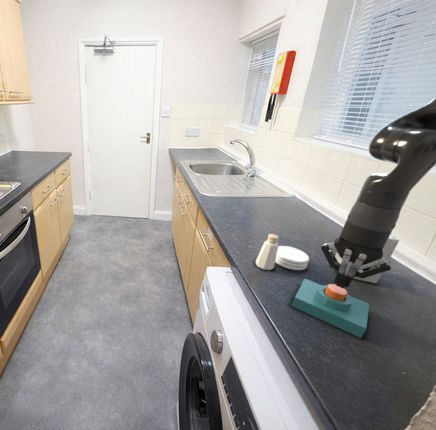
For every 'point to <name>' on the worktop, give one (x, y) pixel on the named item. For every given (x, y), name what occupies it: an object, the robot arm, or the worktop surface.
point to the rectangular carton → (387, 254)
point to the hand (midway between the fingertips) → (340, 285)
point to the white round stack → (291, 258)
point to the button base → (332, 308)
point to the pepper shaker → (268, 253)
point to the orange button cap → (335, 292)
